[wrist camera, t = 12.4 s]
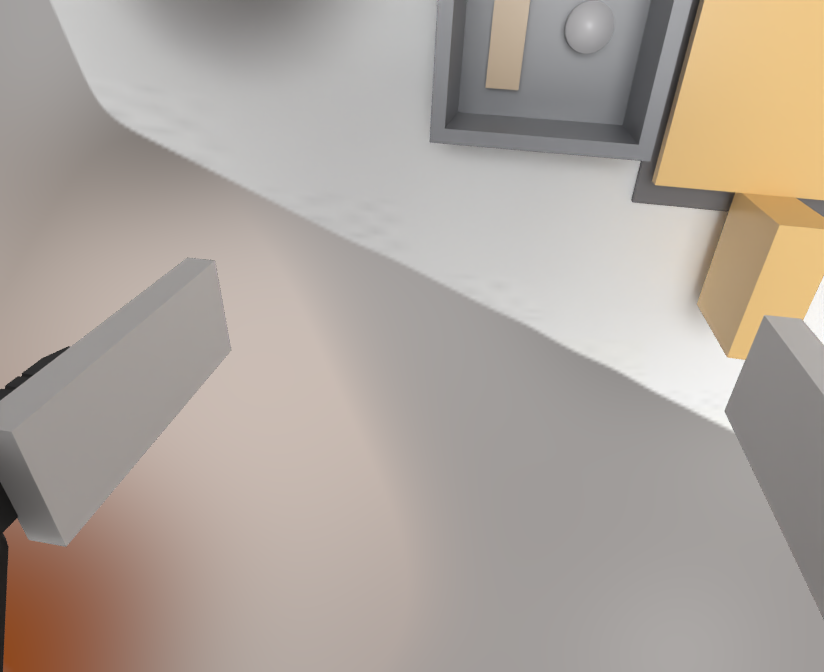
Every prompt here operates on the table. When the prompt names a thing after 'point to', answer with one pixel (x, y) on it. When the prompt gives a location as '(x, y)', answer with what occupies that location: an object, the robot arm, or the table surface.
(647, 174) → the grey rubber mat
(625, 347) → the table surface
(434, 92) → the charcoal tub
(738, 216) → the amber lid
